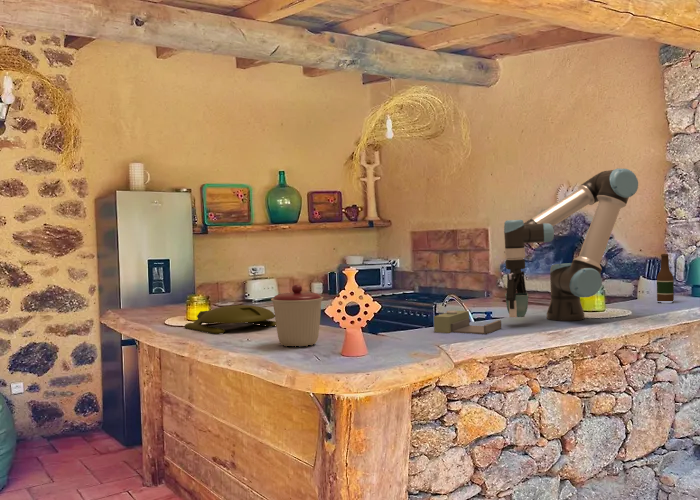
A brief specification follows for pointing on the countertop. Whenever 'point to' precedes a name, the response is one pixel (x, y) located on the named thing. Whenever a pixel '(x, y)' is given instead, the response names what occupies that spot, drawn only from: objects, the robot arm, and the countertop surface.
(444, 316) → the olive stepped block
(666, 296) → the beer bottle
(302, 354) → the countertop surface
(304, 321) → the canister
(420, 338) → the countertop surface
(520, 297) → the flower pot
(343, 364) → the countertop surface
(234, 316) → the spaceship
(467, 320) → the chute
